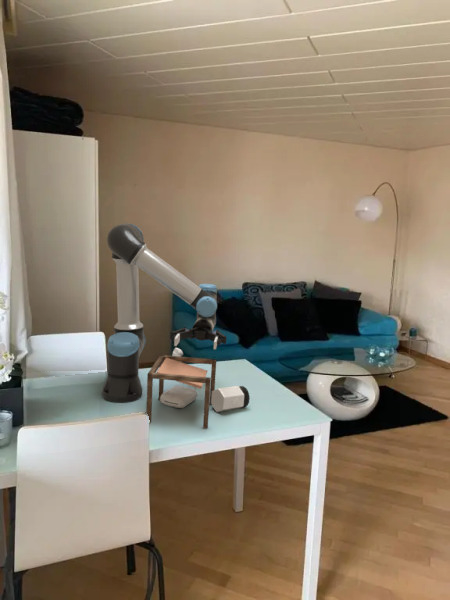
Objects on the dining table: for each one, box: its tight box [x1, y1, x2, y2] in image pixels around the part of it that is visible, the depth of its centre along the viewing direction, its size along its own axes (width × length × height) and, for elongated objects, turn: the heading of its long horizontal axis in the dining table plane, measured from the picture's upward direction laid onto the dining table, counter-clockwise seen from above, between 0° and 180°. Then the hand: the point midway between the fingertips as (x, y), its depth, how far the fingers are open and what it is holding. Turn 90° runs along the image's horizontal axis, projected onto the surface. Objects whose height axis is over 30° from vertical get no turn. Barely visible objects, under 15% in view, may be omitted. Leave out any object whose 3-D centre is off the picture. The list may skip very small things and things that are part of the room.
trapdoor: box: [156, 358, 208, 390], centre depth 170 cm, size 16×16×1 cm
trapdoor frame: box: [145, 354, 217, 429], centre depth 172 cm, size 21×21×18 cm
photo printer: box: [159, 385, 198, 409], centre depth 181 cm, size 10×4×12 cm
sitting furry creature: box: [171, 347, 184, 357], centre depth 211 cm, size 10×9×12 cm
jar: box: [211, 385, 251, 413], centre depth 178 cm, size 9×8×12 cm
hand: (195, 343), depth 165 cm, fingers open, 13 cm apart
